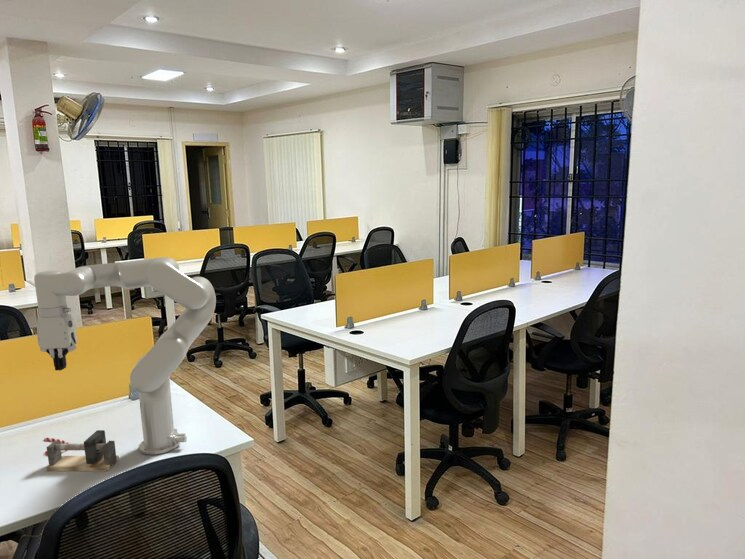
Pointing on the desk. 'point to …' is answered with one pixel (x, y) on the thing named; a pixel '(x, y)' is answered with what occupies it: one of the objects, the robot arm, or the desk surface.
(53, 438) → the candy cane
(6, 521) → the desk surface
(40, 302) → the robot arm
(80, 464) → the rail fixture
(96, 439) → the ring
